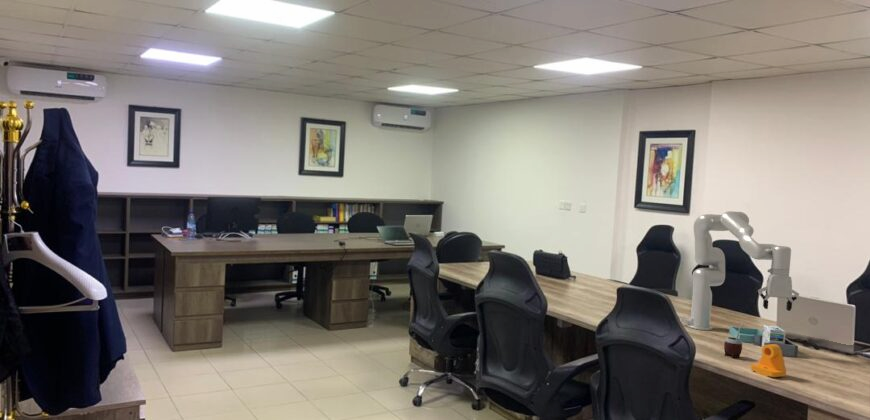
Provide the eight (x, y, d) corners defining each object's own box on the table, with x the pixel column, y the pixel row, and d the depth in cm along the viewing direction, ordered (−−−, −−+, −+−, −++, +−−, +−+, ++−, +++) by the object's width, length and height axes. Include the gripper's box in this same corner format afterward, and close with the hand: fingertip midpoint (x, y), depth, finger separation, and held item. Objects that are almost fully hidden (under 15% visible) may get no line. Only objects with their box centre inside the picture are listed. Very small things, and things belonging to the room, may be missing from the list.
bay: (764, 353, 284) (765, 342, 283) (752, 344, 300) (753, 334, 299) (797, 357, 281) (798, 346, 281) (783, 347, 297) (784, 337, 297)
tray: (739, 341, 304) (739, 334, 303) (728, 332, 321) (729, 326, 321) (770, 344, 301) (770, 337, 301) (758, 336, 319) (758, 329, 318)
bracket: (749, 370, 255) (751, 341, 254) (761, 369, 258) (764, 340, 257) (773, 379, 245) (776, 349, 244) (785, 377, 248) (788, 348, 247)
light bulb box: (784, 354, 285) (786, 331, 284) (768, 352, 286) (770, 329, 285) (776, 348, 295) (778, 325, 295) (760, 346, 296) (763, 324, 296)
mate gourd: (723, 357, 273) (727, 323, 272) (722, 352, 280) (725, 319, 279) (742, 360, 270) (746, 325, 269) (741, 355, 277) (744, 322, 277)
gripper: (762, 272, 286) (759, 309, 287) (803, 275, 283) (800, 312, 284) (757, 270, 294) (754, 306, 294) (797, 273, 291) (794, 309, 291)
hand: (777, 309), depth 289 cm, fingers open, 9 cm apart
